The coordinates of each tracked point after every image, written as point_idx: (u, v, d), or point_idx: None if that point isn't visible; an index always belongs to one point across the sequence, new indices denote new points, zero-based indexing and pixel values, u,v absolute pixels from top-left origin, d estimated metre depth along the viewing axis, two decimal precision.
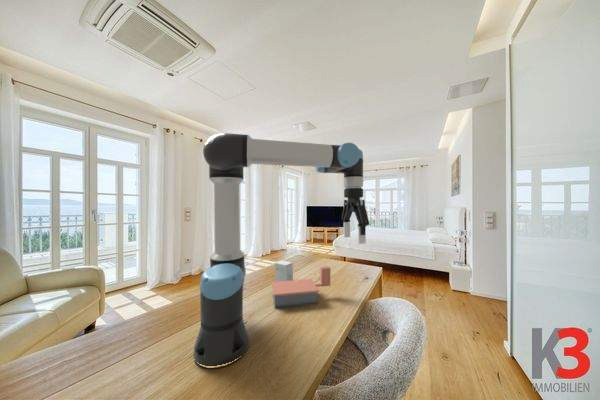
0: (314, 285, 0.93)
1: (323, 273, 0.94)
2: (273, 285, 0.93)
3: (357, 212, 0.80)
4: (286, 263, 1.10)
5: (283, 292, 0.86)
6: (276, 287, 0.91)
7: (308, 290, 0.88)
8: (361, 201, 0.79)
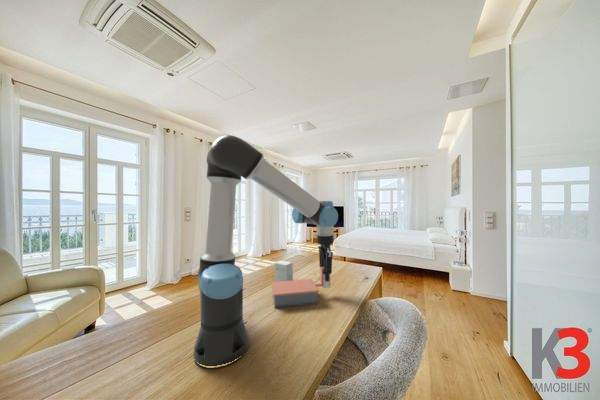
0: (314, 285, 0.93)
1: None
2: (273, 285, 0.93)
3: (325, 260, 0.93)
4: (286, 263, 1.10)
5: (283, 292, 0.86)
6: (276, 287, 0.91)
7: (308, 290, 0.88)
8: (329, 255, 0.89)
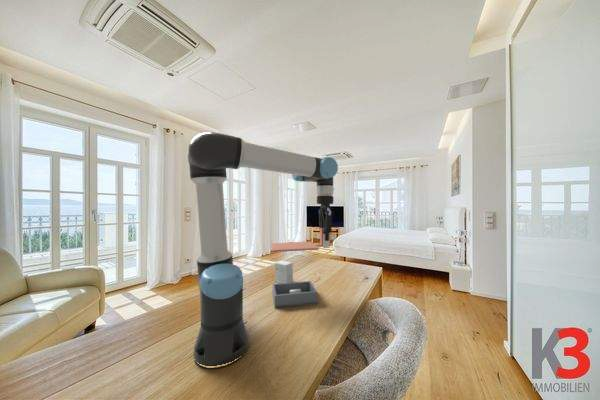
0: (314, 245, 0.93)
1: None
2: (273, 245, 0.93)
3: (325, 220, 0.93)
4: (286, 263, 1.10)
5: (283, 248, 0.86)
6: (276, 246, 0.91)
7: (308, 247, 0.88)
8: (329, 213, 0.89)
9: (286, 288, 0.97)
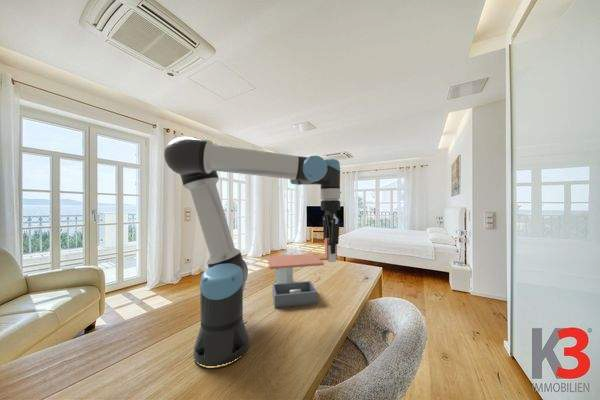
0: (318, 258, 0.79)
1: None
2: (269, 259, 0.79)
3: (331, 229, 0.79)
4: None
5: (281, 264, 0.72)
6: (273, 260, 0.77)
7: (311, 263, 0.74)
8: (336, 221, 0.75)
9: (286, 288, 0.97)
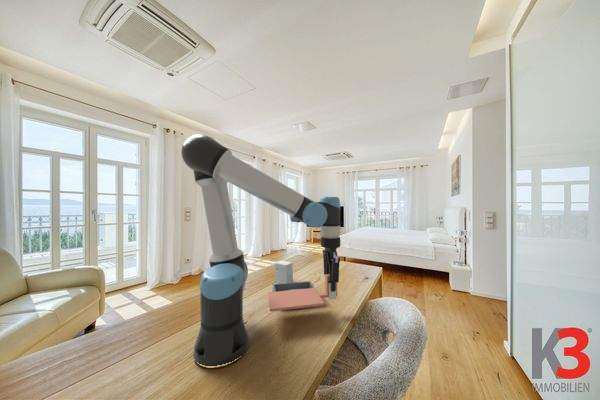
0: (318, 296, 0.79)
1: None
2: (270, 296, 0.79)
3: (331, 267, 0.79)
4: (286, 263, 1.10)
5: (281, 306, 0.72)
6: (273, 299, 0.77)
7: (311, 303, 0.74)
8: (336, 260, 0.75)
9: (286, 288, 0.97)
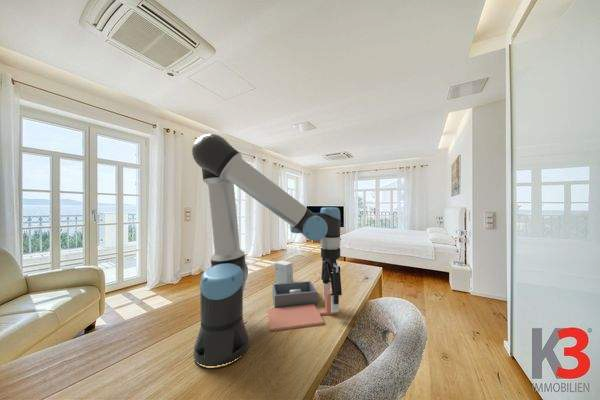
0: (318, 314, 0.79)
1: (328, 299, 0.80)
2: (270, 314, 0.79)
3: (332, 278, 0.77)
4: (286, 263, 1.10)
5: (281, 325, 0.72)
6: (273, 317, 0.77)
7: (311, 322, 0.74)
8: (337, 269, 0.74)
9: (286, 288, 0.97)
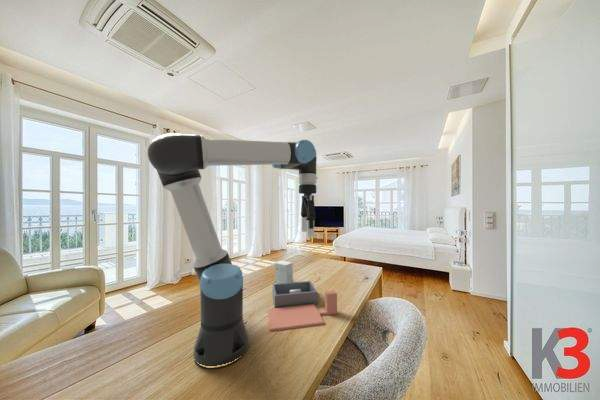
0: (318, 314, 0.79)
1: (328, 299, 0.80)
2: (270, 314, 0.79)
3: (308, 207, 0.85)
4: (286, 263, 1.10)
5: (281, 325, 0.72)
6: (273, 317, 0.77)
7: (311, 322, 0.74)
8: (310, 197, 0.83)
9: (286, 288, 0.97)
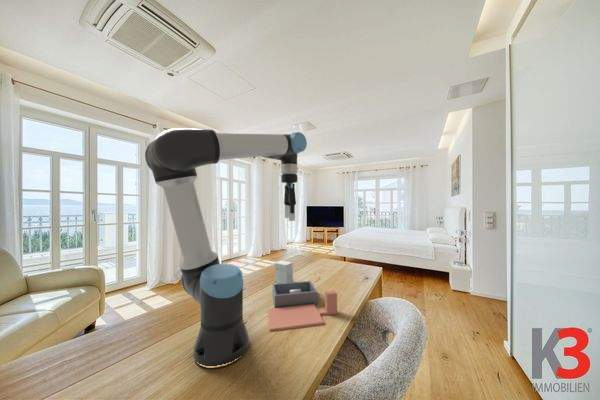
0: (318, 314, 0.79)
1: (328, 299, 0.80)
2: (270, 314, 0.79)
3: None
4: (286, 263, 1.10)
5: (281, 325, 0.72)
6: (273, 317, 0.77)
7: (311, 322, 0.74)
8: (291, 185, 0.91)
9: (286, 288, 0.97)
